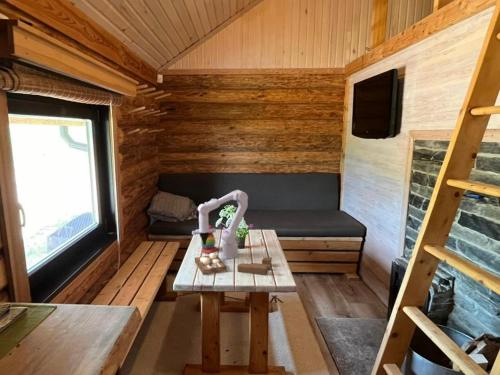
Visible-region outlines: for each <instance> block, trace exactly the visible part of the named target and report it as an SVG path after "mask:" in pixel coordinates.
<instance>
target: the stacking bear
mask: <svg viewBox="0 0 500 375" xmlns="http://www.w3.org/2000/svg"><path fill="white" fill-rule="evenodd" d="M208 226H209V229H214V228H213V226H211V225H210V224H208ZM200 243H201V244H200V245H201V252H202V253H203V254H207V255H210V253H215V252H217V251H219V248H218V247H217V246H215V245H216V239H215V235H214V232H211V233H209V236H208V238H207V241H206V245H203V242H202V239H201V240H200Z"/></svg>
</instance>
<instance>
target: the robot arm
mask: <svg viewBox="0 0 500 375" xmlns="http://www.w3.org/2000/svg"><path fill="white" fill-rule="evenodd" d="M248 200H249V195H248V194H247V193H246V192H245V191H243V190H240V189H235V190H233V191H230V192H229V193H228V194H226V195H224V196H222V197H221V198H218V199H217V198H211V199H210V200H209V201H205V202H204V203H200V204H199V206H197V211H198V225H199V226H198V228H199V229H196V230H192V231H191V235H192V236H195V235H199V237H200V238H201V239H202V242H203V245H206V241H207V238H208V236H209V233H211V232H213V233H216V230H217V229H216V228H213V229H209V226H208V225H209V213H210V212H212V211H214V210H216V209H218V208H219V207H220V206H221V205H222V204H224V203H227V202H229V201H236V202H237V205H238V207H237V209H236V211H235V213H234V215H233V217H232V220H231V222H230V224H229V226H228V227H227V228H226V229H225V230H224V232H222V234H221V240H222V254H220V256H221V257H222V258H223V259H224V260H228V259H234V258H239V246H238V242H236V237H237V230H238V228H239V226H240V223H241V222H242V219H243V217H244V215H245V212H246V211H247V209H248V206H249V205H248V202H249V201H248Z"/></svg>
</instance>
